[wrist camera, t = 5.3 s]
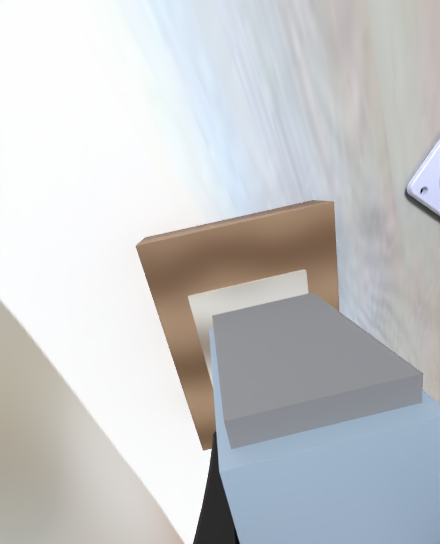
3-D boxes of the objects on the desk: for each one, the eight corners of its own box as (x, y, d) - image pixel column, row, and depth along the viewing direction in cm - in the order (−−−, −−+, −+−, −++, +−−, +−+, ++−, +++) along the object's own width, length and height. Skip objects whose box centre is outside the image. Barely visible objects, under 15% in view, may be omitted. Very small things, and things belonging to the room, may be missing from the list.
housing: (330, 424, 13) (440, 606, 7) (238, 446, 12) (270, 651, 7) (315, 288, 11) (455, 383, 5) (204, 313, 10) (210, 442, 5)
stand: (145, 237, 15) (134, 246, 12) (312, 200, 15) (336, 201, 13) (202, 420, 20) (203, 454, 18) (327, 390, 21) (346, 419, 18)
